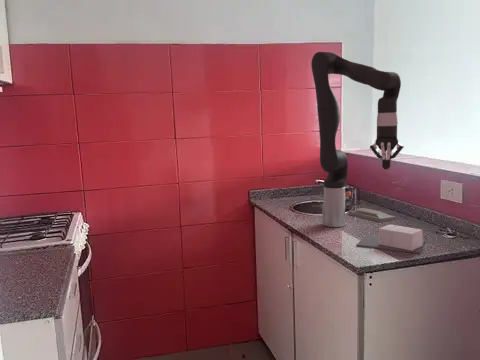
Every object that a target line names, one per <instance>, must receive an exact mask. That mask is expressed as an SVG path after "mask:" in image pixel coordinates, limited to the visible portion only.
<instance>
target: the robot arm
mask: <svg viewBox="0 0 480 360" xmlns="http://www.w3.org/2000/svg"><path fill="white" fill-rule="evenodd" d="M311 72H312V73H311V74H312V76H313V82H314V89H315V97H316V107H317V110H316V111H317V119H318V130H319V143H320V144H319V163H320V166H321V167H320V168H321V169H322V170H323V171H325V173H328V175H327V177H326V178H325V179H324V181H323V203H322V207H321V208H322V209H321V211H322V212H321V213H322V215H321V217H322V218H321V220H322V221H321V222H322V226H325V227H329V228H341V227H344V226H346V210H345V187H346V182H347V179H348V166H349V165H348V163H349V162H348V157H347V154H346V153H345V151H343V150H341V149H337V146H336V136H337V133H338V130H339V126H340V121H341V116H340V105H339V101H338V99H337V97H336V95H335V93H334V91H333V89H332V88H331V87H332V86H331V84H330V79H329V75H340V76H341V75H342V76H345V77H347V78H349V79H350V80H352V81H354V82H357V83H359V84H363V85H366V86H369V87H371V88H373V89H375V90H378V91H383V94H382V97H380V98H378V100H377V114H376V115H377V117H376V139H375V141H374V143H373V144H372V145H369V148H370V150H371V151H372V153H374V155H375V156H376V157H377V158H378V159H381V161H382V163H381V164H382V165H381V167H382V169H383V170H389V169H390V168H391V160H392V159H395V158H396V157H397V156H398V155H399V153H400V152H401V151H402V150H403V149H404V148H405V147H404V145H402V144H401V143H400V142H399V139H398V113H397V112H398V111H397V110H398V108H397V107H398V103H397V102H398V98H399V95H400V91H401V87H402V85H401V84H402V79H401V77H400V75H399V74H398V73H397V72H394V71H383V70H378V69H377V68H376V67H373V66H370V65H365V64H362V63H358V62H354V61H350V60H348V59H345V58H343V57H342V56H340V55H337V54H336V53H333V52H331V51H330V52H329V51H318V52H316V53H314V55H313V56H312V59H311ZM395 148H396V150H395V151H394V152H393V150H394V149H395ZM378 149H379V150H380V151H381V152H380V151H379V150H378Z"/></svg>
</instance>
